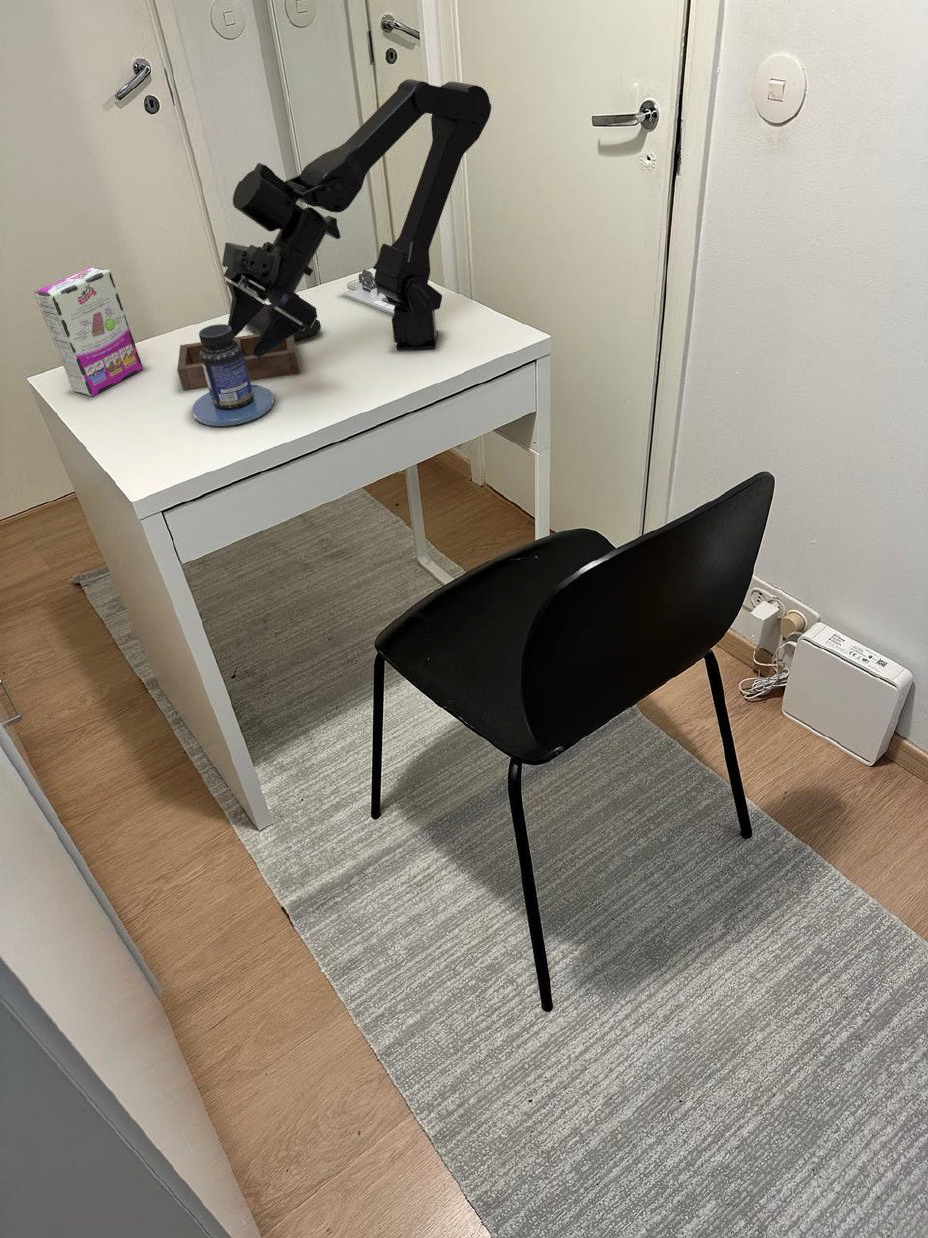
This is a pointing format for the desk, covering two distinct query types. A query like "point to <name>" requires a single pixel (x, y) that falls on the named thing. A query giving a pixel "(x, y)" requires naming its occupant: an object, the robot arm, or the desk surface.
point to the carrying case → (301, 335)
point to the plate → (225, 417)
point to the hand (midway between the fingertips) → (242, 346)
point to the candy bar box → (89, 330)
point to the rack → (268, 365)
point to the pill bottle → (225, 368)
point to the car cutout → (370, 293)
